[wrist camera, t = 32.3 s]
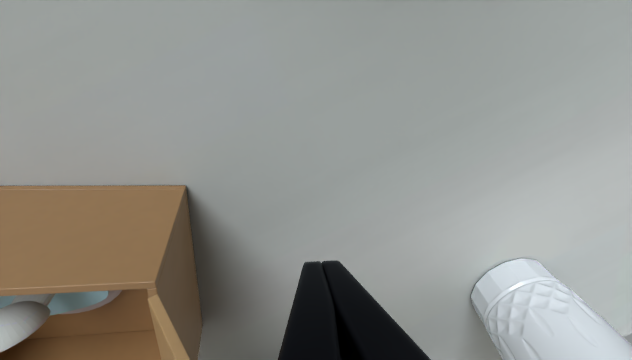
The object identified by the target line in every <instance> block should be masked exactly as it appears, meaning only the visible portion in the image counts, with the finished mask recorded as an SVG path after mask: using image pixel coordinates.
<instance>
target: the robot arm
mask: <svg viewBox="0 0 632 360" xmlns="http://www.w3.org/2000/svg"><path fill="white" fill-rule="evenodd" d="M278 360H431V359H430V358H429V357H428V356H427V355H426V354H425V353H424V352H423V351H422V350H421V349H420V348H419V347H418V345H417V344H416V343H415V342H414V341H413V340H412V339H411V338H410V337H409V336H408V335H407V334H406V333H405V331H404V330H403V329H402V328H401V327H400V326H399V325H398V324H397V323H396V322H395V321H394V320H393V319H392V318H391V316H390V315H389V314H388V313H387V312H386V311H385V310H384V309H383V308H382V307H381V306H380V305H379V304H378V303H377V301H376V300H375V299H374V298H373V297H372V296H371V295H370V294H369V293H368V292H367V291H366V290H365V289H364V287H363V286H362V285H361V284H360V283H359V282H358V281H357V280H356V279H355V278H354V277H353V276H352V275H351V274H350V272H349V271H348V270H347V269H346V268H345V267H344V266H343V265H342V264H341V263H340V262H339V261H323V262H322V263H321V262H319V261H316V262H305V263H304V265H303V268H302V272H301V276H300V279H299V283H298V287H297V290H296V294H295V298H294V301H293V305H292V309H291V313H290V316H289V320H288V324H287V327H286V331H285V335H284V338H283V342H282V346H281V350H280V353H279V357H278Z"/></svg>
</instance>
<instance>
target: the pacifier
mask: <svg viewBox="0 0 632 360" xmlns="http://www.w3.org/2000/svg"><path fill="white" fill-rule="evenodd" d="M121 291H122V290H112V291H92V292H73V293H54V294H35V295H16V296H0V352H3V351H5V350H7V349H9V348H11V347H13V346H14V345H16V344H18V343H19V342H21V341H23V340H24V339H26V338H27V337H29V336H30V335H31V334H33V333H34V332H35V331H36V330H37V329H39V328H40V327H41V326H42V325H43V324H44V323H45V322H46V320H47V319H48V317H49V316H50V315H55V314H73V313H80V312H85V311H90V310H93V309H96V308H99V307H101V306H103V305H105V304H107V303H109V302H111V301H112V300H113V299H114V298H116V297H117V296H118V295H119V294H120V292H121Z"/></svg>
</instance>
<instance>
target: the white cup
mask: <svg viewBox="0 0 632 360" xmlns="http://www.w3.org/2000/svg"><path fill="white" fill-rule="evenodd" d="M471 299H472V303H473V307H474V309H475V310H476V312H477V314H478V315H479V317H480V319H481V320H482V322H483V324H484V325H485V327H486V330H487V332H488V334H489V336H490V338H491V340H492V342H493V344H494V345H495V347H496V348H497V350H498V352H499V354H500V356H501V358H502V359H503V360H632V345H631V344H630V343H629V342H628V341H627V340H626V339H625V338H624V337H623V336H622V335H621V334H620V333H619V332H618V331H616V330H615V329H614V328H613V327H612V326H611V325H610V324H609V323H608V322H607V321H606V320H605V319H604V318H603V317H602V316H600V315H599V314H598V313H597V312H595V311H594V310H593V309H592V308H591V307H590V306H589V305H588V304H587V303H586V302H585V301H584V300H583V299H581V298H580V297H579V296H578V295H576V294H575V293H574V292H573V291H572V290H571V289H570V288H569V287H568V286H566V285H564V284H562V282H560V281H559V280H558V279H557V278H556V277H554V276H553V275H552V274H551V273H550V272H549V271H548V270H547V269H546V268H545V267H544V266H543V265H541V264H540V263H539V262H538V261H537V260H532V259H524V258H520V259H516V260H512V261H508V262H504V263H502V264H500V265H498V266H497V267H495V268H493V269H491V270H490V271H488V272H487V273H486V274H485V275H484V276H483V277H482V278H481V279H480V280H479V281H478V282H477V283H476V284H475V287H474V289H473V292H472V294H471Z"/></svg>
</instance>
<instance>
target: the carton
mask: <svg viewBox="0 0 632 360" xmlns="http://www.w3.org/2000/svg"><path fill="white" fill-rule="evenodd" d="M112 290H122V291H121V292H120V294H119V295H118V296H117V297H116V298H114V299H113V300H112V301H111V302H109V303H107V304H105V305H103V306H101V307H99V308H96V309H93V310H90V311H85V312H80V313H73V314H55V315H50V316H49V317H48V319H47V320H46V322H45V323H44V324H43V325H42V326H41V327H40V328H39V329H37V330H36V331H35V332H34V333H33V334H31V335H30V336H29V337H27V338H26V339H24V340H23V341H21V342H19V343H18V344H16V345H14V346H13V347H11V348H9V349H7V350H5V351H3V352H0V360H161V355H160V351H159V347H158V342H157V338H156V334H155V330H154V325H153V321H152V317H151V312H150V308H149V304H148V298H150V297H152V296H154V295H157V294H158V295H159V297H160V299H161V301H162V303H163V306H164V308H165V310H166V312H167V314H168V316H169V318H170V320H171V322H172V324H173V326H174V328H175V330H176V332H177V334H178V336H179V338H180V340H181V342H182V344H183V346H184V348H185V350H186V352H187V354H188V356H189V358H190V360H198V354H199V347H200V340H201V333H202V326H203V324H202V316H201V307H200V299H199V291H198V282H197V274H196V266H195V257H194V249H193V240H192V232H191V224H190V215H189V207H188V199H187V190H186V186H185V185H176V186H0V296H16V295H35V294H54V293H73V292H92V291H112Z"/></svg>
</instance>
